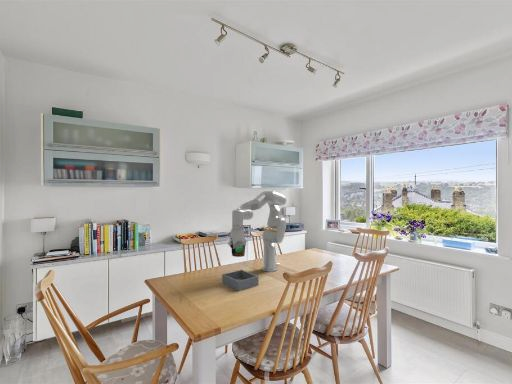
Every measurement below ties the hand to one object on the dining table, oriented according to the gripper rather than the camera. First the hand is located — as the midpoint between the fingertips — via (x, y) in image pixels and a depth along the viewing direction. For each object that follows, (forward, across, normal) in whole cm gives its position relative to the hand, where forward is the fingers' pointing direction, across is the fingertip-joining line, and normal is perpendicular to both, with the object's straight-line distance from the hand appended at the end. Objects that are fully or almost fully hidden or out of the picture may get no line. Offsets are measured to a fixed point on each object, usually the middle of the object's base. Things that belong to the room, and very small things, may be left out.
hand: (237, 253), depth 190 cm
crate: (+20, +2, +6) cm, 21 cm away
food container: (+2, +1, 0) cm, 2 cm away
